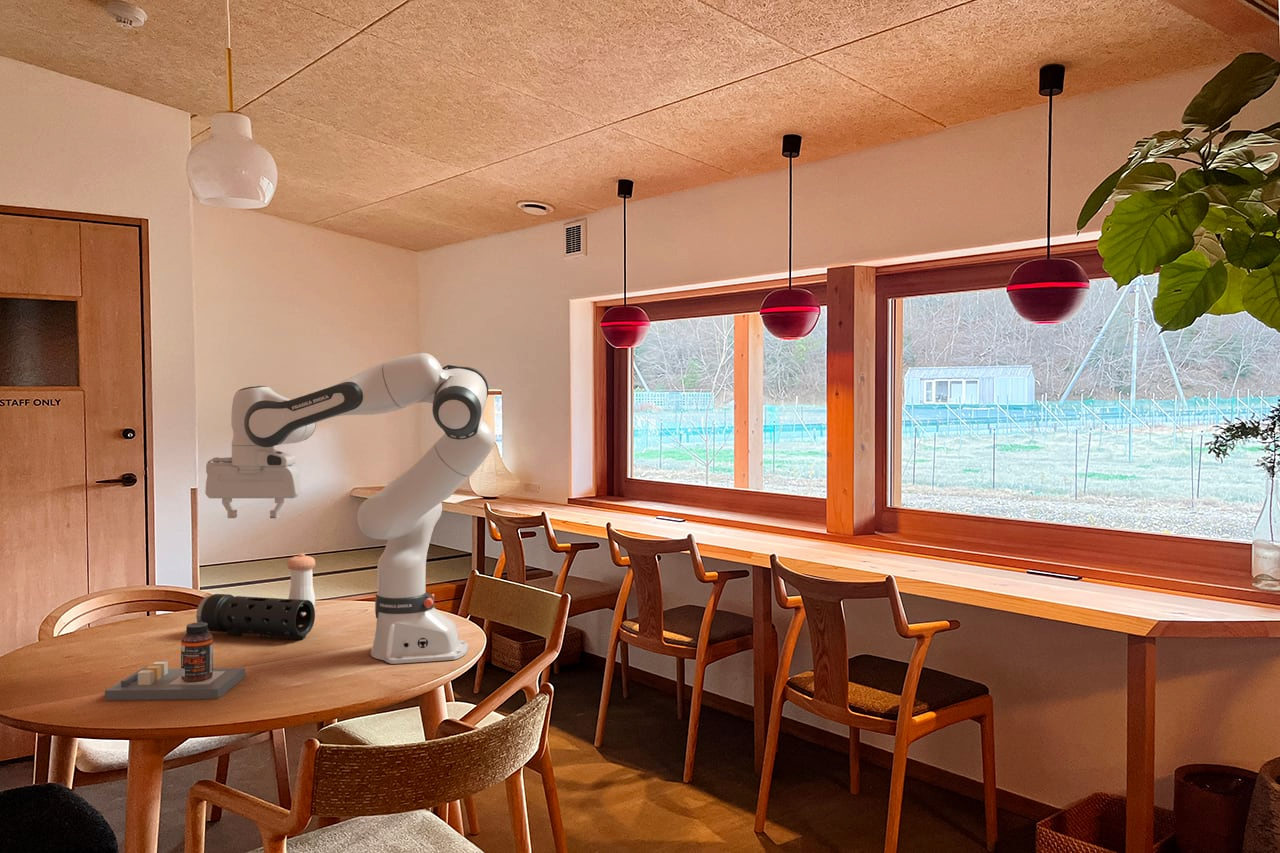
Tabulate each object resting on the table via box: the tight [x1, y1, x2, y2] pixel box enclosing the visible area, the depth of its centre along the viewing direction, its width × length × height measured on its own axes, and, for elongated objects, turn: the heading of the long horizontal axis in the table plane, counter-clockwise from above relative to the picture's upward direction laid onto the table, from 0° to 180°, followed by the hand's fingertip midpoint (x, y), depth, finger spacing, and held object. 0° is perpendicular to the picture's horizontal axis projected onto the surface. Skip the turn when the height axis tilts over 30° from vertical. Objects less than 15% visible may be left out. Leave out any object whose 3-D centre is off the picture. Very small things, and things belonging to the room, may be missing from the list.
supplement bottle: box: [180, 621, 214, 682], centre depth 183 cm, size 6×6×11 cm
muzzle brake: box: [195, 593, 316, 640], centre depth 224 cm, size 10×28×10 cm, turn 78°
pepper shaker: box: [287, 553, 317, 627], centre depth 235 cm, size 7×7×19 cm
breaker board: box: [104, 661, 246, 701], centre depth 184 cm, size 22×14×4 cm, turn 93°
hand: (253, 518), depth 201 cm, fingers open, 8 cm apart
